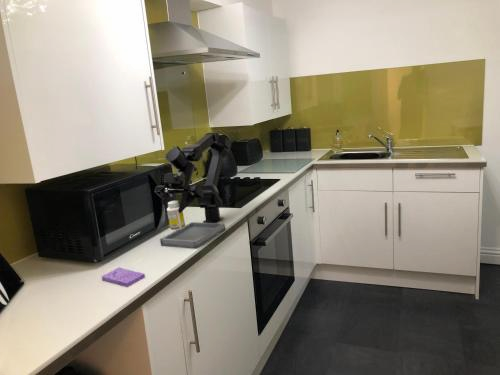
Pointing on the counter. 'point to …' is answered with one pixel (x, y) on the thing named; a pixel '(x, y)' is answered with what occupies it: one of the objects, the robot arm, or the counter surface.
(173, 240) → the tray
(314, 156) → the counter surface
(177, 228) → the supplement bottle
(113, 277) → the sponges
